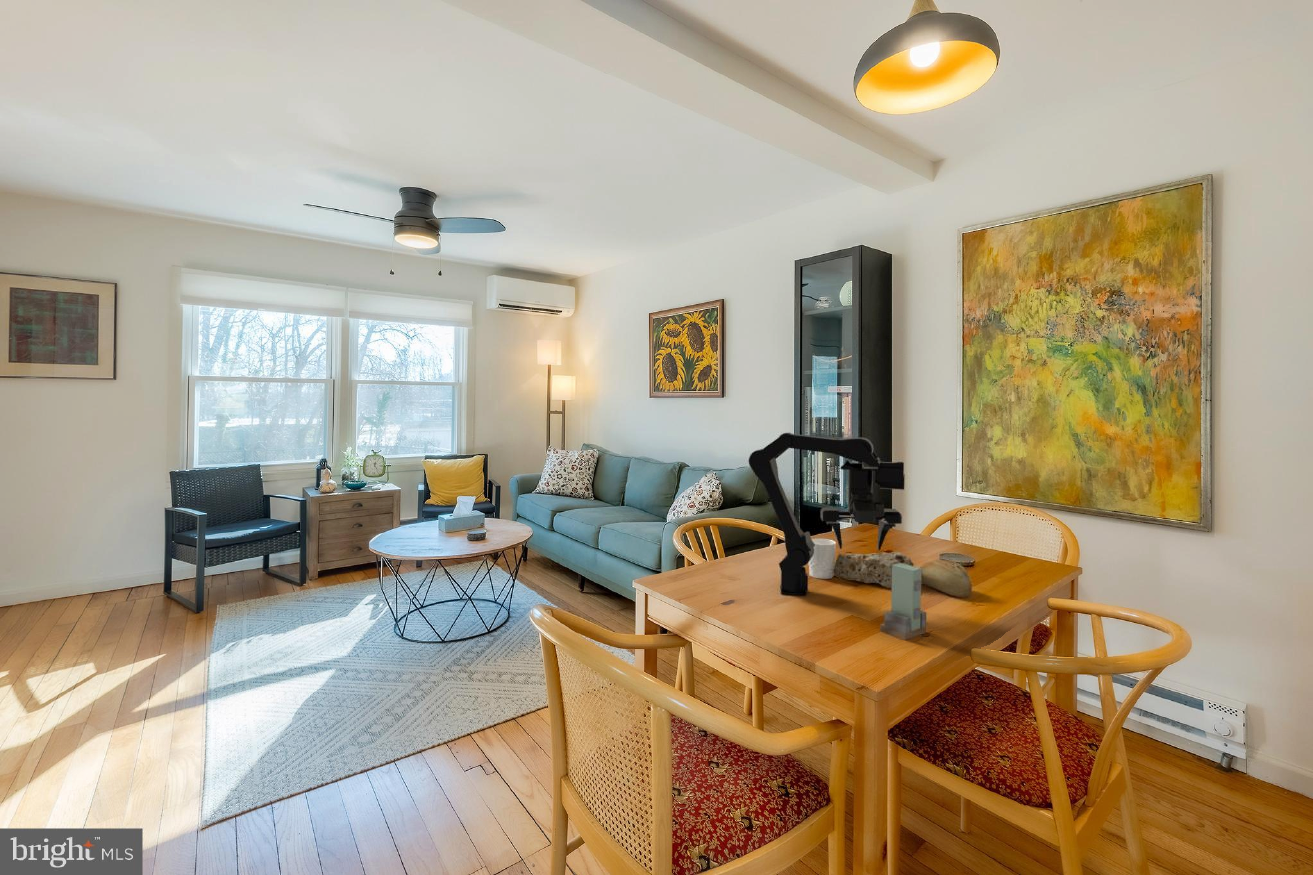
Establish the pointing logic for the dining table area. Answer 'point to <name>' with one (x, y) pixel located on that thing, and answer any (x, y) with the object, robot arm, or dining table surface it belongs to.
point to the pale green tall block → (907, 593)
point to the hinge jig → (902, 625)
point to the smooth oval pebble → (946, 577)
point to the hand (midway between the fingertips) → (859, 549)
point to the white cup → (823, 559)
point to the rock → (869, 567)
